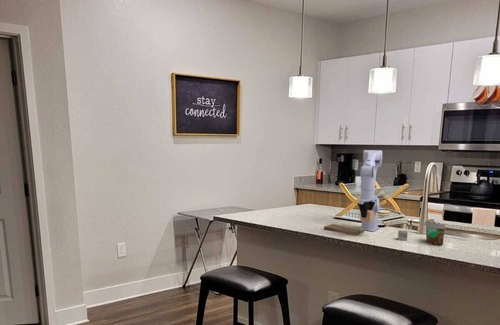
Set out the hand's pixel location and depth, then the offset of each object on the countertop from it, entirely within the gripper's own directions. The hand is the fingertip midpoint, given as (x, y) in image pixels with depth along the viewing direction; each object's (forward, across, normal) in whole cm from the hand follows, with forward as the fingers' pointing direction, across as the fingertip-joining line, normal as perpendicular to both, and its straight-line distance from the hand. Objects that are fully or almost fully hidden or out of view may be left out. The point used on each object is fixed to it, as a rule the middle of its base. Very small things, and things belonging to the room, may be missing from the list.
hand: (366, 216), depth 190 cm
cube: (+2, 0, 0) cm, 2 cm away
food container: (+10, +8, -29) cm, 31 cm away
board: (+9, +1, +12) cm, 16 cm away
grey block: (+10, +4, -17) cm, 20 cm away
